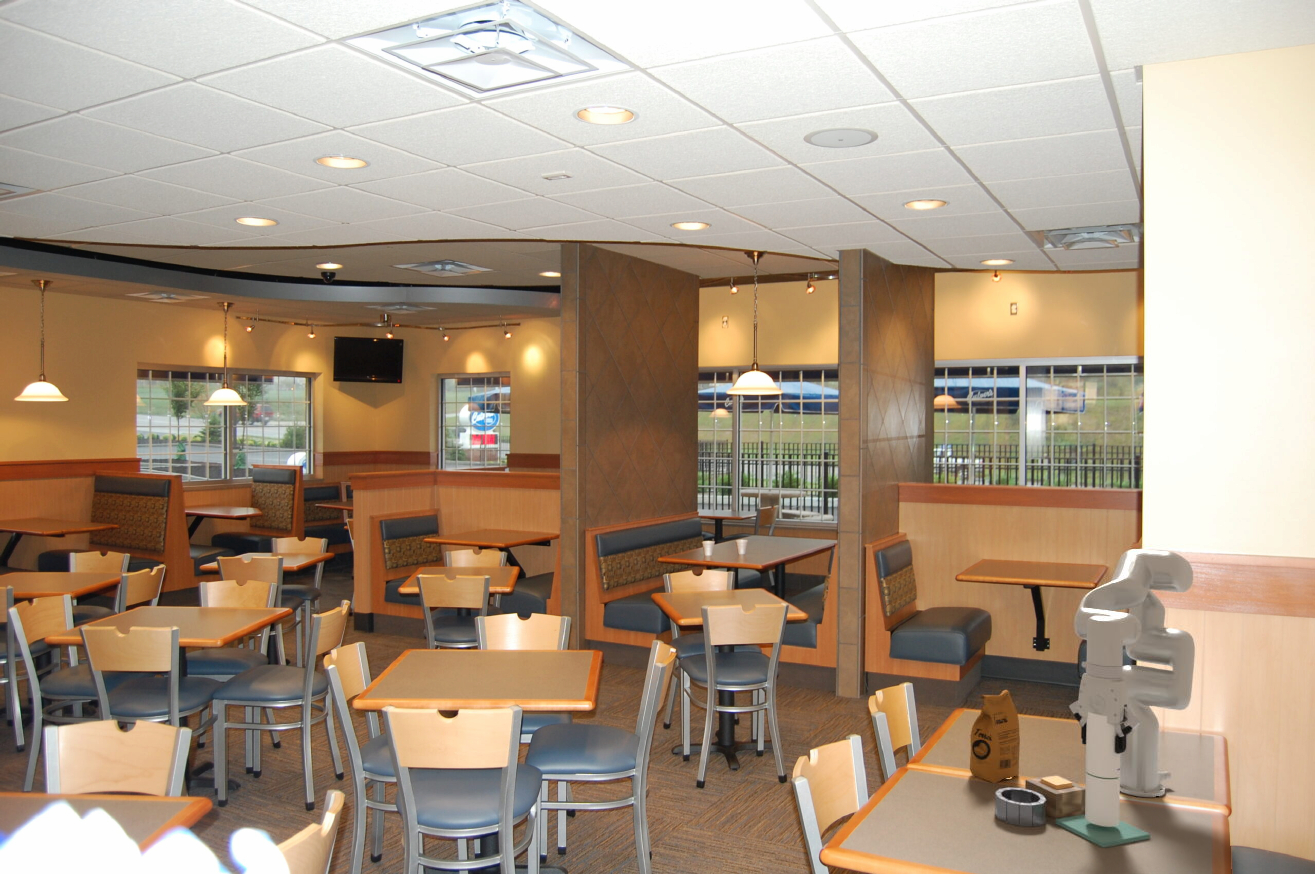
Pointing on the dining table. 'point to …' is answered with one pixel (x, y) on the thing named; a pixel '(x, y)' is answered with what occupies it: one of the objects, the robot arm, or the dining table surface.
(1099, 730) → the cylindrical container
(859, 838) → the dining table surface
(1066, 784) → the tan block
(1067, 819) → the mat
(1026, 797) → the collar
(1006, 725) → the coffee package
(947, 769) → the dining table surface
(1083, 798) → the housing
